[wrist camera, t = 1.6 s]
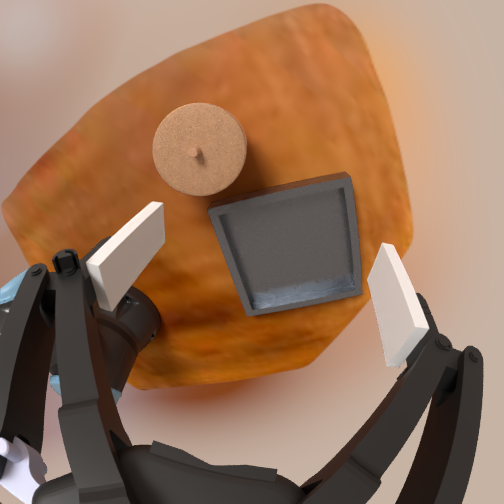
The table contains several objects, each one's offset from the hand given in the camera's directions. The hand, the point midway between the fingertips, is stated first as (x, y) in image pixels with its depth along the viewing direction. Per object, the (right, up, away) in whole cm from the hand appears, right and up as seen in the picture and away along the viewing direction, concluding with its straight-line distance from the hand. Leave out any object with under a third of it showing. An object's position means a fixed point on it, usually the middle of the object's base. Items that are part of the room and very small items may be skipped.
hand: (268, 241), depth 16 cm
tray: (+5, 0, +26) cm, 26 cm away
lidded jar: (-6, +14, +19) cm, 24 cm away
